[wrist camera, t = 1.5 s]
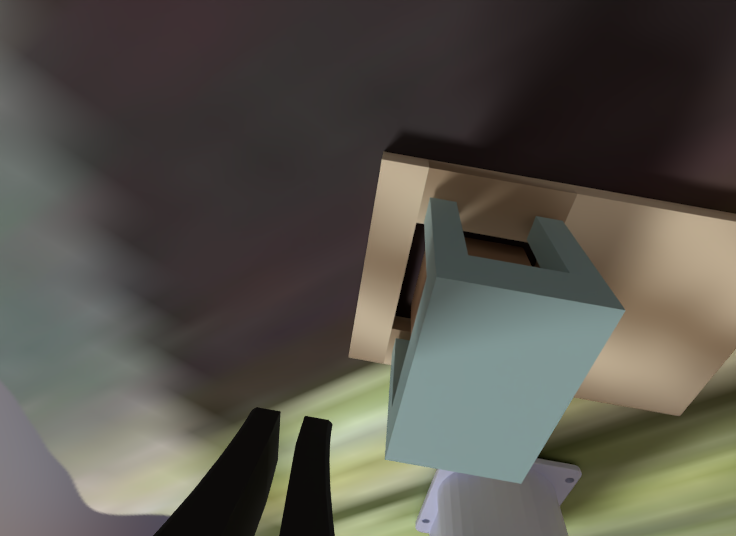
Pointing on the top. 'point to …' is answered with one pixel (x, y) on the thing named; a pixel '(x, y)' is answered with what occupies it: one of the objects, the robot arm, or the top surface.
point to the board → (605, 250)
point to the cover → (494, 350)
